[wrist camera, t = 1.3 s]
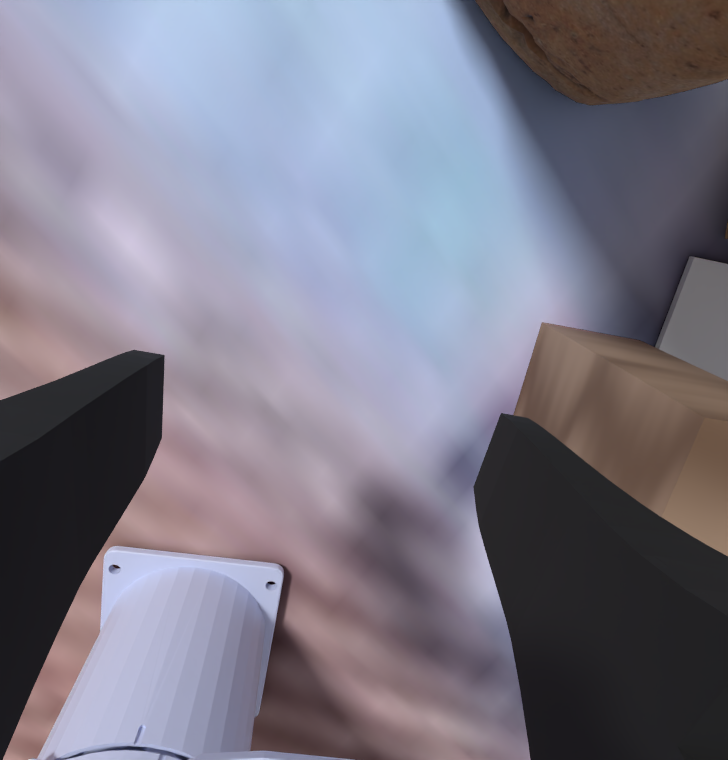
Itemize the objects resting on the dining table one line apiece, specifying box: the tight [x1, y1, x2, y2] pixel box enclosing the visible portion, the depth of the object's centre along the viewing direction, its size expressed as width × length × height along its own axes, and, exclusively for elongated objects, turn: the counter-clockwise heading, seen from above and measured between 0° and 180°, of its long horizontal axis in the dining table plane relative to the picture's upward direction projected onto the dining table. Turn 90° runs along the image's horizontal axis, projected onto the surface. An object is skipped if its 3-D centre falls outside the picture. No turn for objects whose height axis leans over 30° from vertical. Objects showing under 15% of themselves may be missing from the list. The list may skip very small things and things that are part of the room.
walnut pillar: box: [514, 322, 728, 556], centre depth 19 cm, size 4×4×10 cm
